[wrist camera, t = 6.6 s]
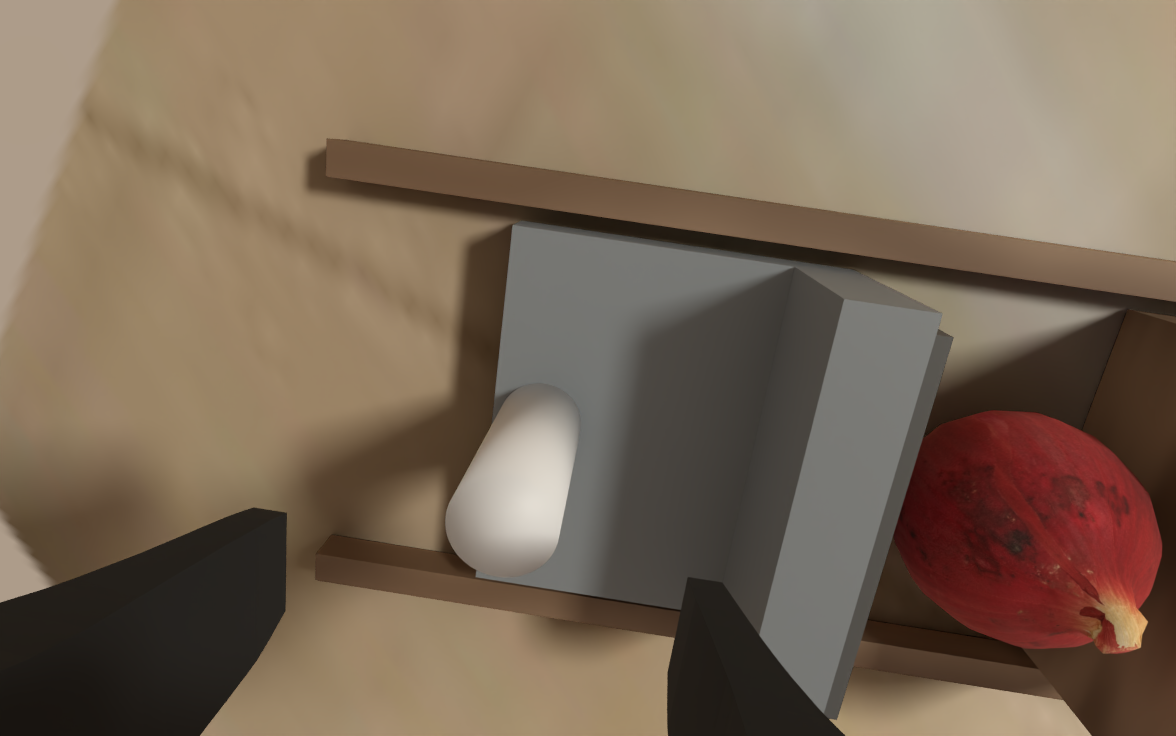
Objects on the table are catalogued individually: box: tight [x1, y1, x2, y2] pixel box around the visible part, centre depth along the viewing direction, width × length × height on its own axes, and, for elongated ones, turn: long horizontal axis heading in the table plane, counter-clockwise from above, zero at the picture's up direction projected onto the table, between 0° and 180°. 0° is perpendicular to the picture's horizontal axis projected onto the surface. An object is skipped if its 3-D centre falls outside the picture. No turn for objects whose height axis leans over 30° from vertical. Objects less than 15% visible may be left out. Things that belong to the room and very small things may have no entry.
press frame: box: [315, 139, 1176, 736], centre depth 18 cm, size 14×26×7 cm, turn 82°
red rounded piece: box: [893, 410, 1162, 654], centre depth 18 cm, size 6×6×8 cm
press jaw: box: [445, 220, 954, 720], centre depth 18 cm, size 11×10×8 cm
